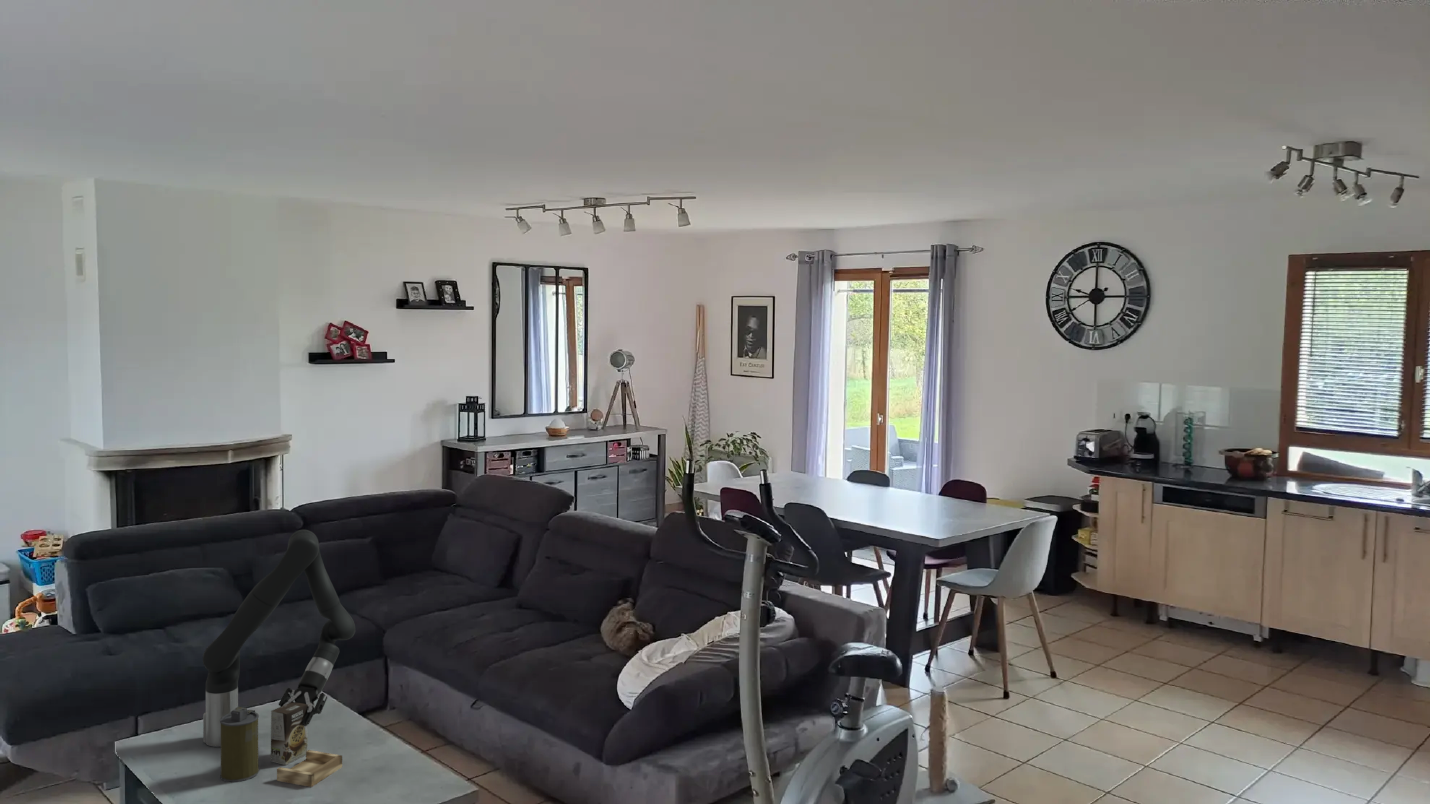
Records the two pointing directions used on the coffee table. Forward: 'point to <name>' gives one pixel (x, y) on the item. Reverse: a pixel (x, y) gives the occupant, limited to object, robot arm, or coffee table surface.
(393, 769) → the coffee table surface
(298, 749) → the coffee box
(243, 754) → the canister
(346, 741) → the coffee table surface
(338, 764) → the oak cradle
